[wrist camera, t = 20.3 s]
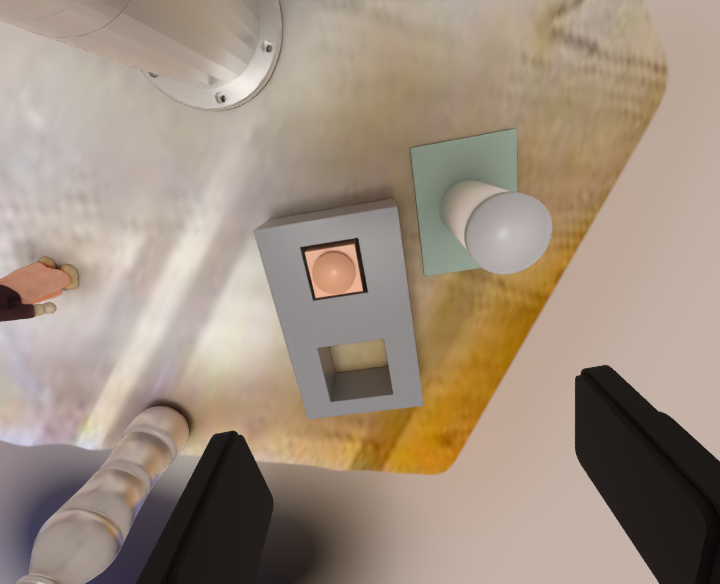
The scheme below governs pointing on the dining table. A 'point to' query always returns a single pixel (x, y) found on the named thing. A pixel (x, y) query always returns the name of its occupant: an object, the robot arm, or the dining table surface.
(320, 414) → the housing
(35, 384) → the dining table surface
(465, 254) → the mat
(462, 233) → the cylinder
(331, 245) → the square push button
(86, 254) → the dining table surface
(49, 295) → the grandmother figurine
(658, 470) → the robot arm
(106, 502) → the plastic bottle
